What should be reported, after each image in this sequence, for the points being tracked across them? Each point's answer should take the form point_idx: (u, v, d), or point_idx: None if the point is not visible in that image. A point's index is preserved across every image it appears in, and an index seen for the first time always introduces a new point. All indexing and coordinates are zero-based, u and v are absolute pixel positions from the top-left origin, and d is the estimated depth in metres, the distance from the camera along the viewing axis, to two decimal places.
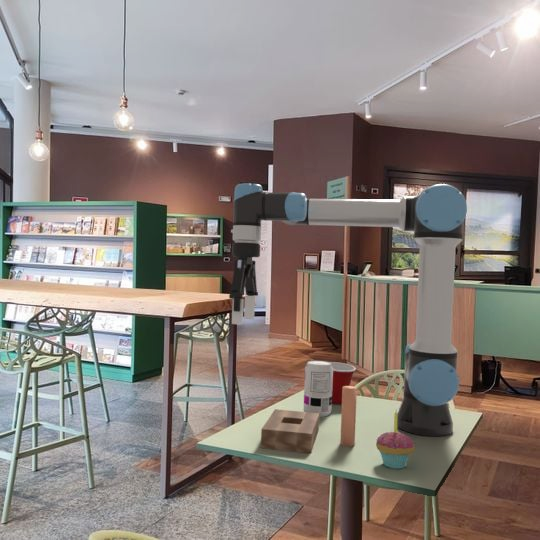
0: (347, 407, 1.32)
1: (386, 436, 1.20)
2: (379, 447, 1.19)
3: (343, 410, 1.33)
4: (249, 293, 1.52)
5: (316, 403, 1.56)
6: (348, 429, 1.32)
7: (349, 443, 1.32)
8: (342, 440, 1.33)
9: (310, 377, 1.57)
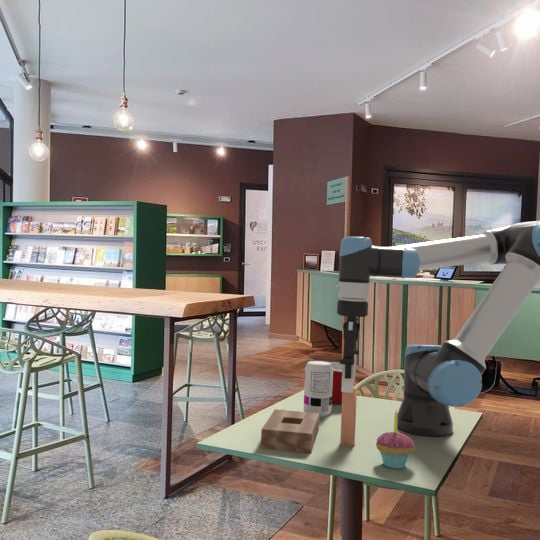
0: (347, 407, 1.32)
1: (386, 436, 1.20)
2: (379, 447, 1.19)
3: (343, 410, 1.33)
4: None
5: (316, 403, 1.56)
6: (348, 429, 1.32)
7: (349, 443, 1.32)
8: (342, 440, 1.33)
9: (310, 377, 1.57)
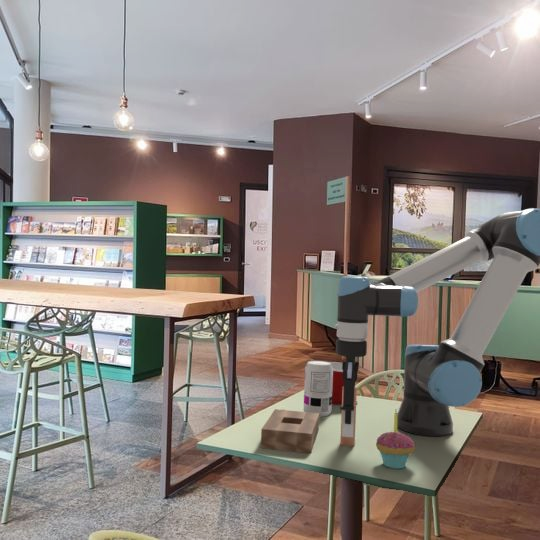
0: None
1: (386, 436, 1.20)
2: (379, 447, 1.19)
3: None
4: None
5: (316, 403, 1.56)
6: None
7: (349, 443, 1.32)
8: (342, 440, 1.33)
9: (310, 377, 1.57)
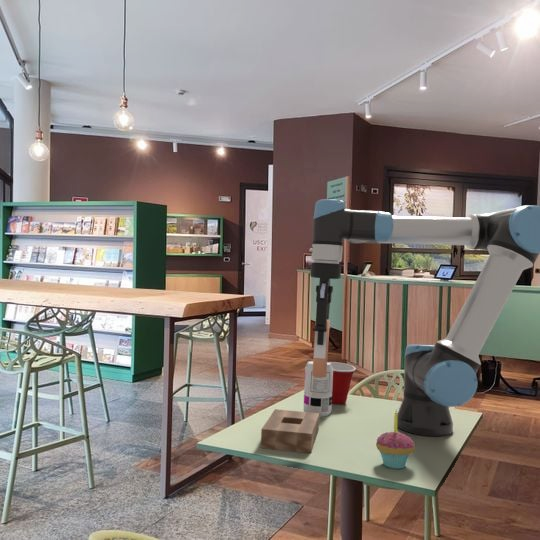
0: None
1: (386, 436, 1.20)
2: (379, 447, 1.19)
3: None
4: None
5: (316, 403, 1.56)
6: (320, 360, 1.33)
7: (321, 373, 1.33)
8: (314, 371, 1.34)
9: (310, 377, 1.57)
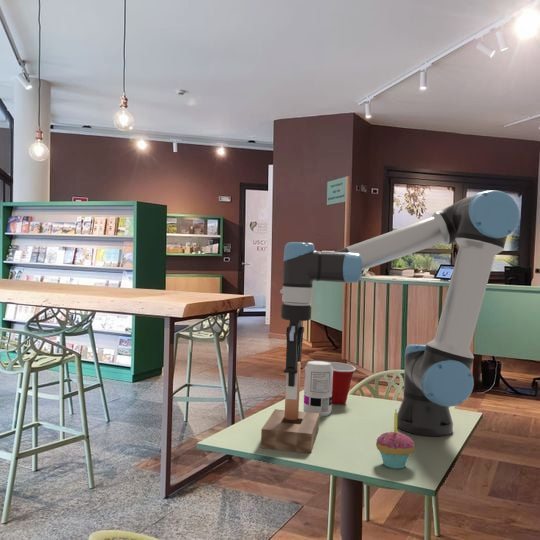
0: None
1: (386, 436, 1.20)
2: (379, 447, 1.19)
3: None
4: None
5: (316, 403, 1.56)
6: (291, 403, 1.34)
7: (292, 416, 1.34)
8: (285, 413, 1.35)
9: (310, 377, 1.57)
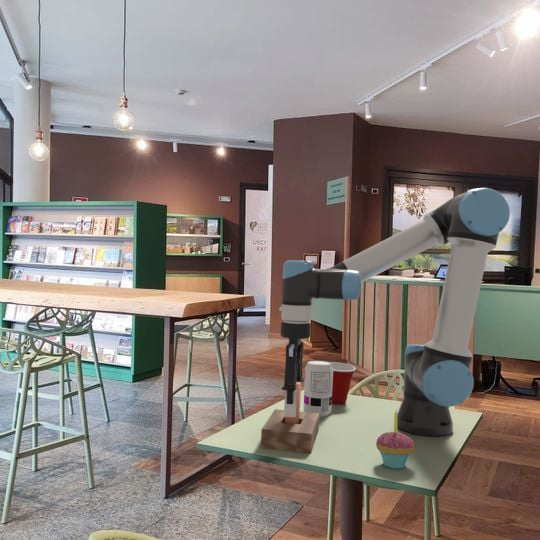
0: None
1: (386, 436, 1.20)
2: (379, 447, 1.19)
3: None
4: (295, 379, 1.41)
5: (316, 403, 1.56)
6: None
7: None
8: None
9: (310, 377, 1.57)
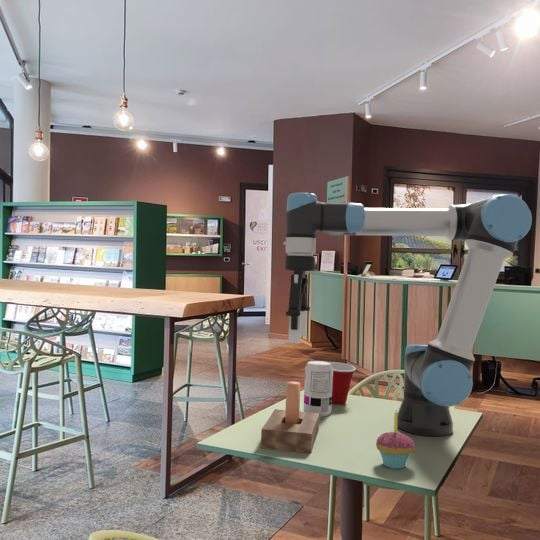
0: (290, 402, 1.35)
1: (386, 436, 1.20)
2: (379, 447, 1.19)
3: (287, 405, 1.35)
4: (301, 308, 1.43)
5: (316, 403, 1.56)
6: None
7: None
8: None
9: (310, 377, 1.57)
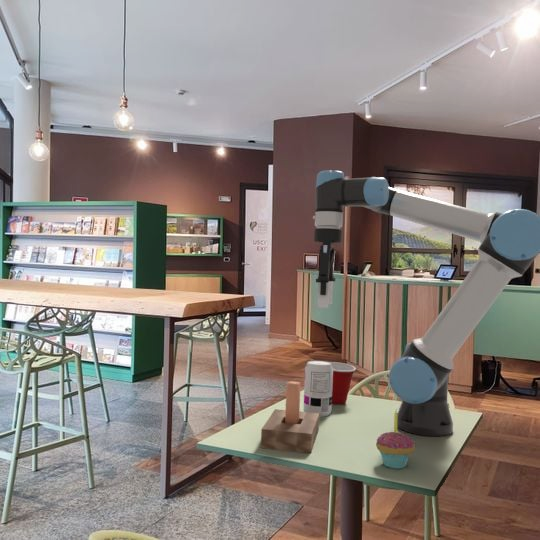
0: (290, 402, 1.35)
1: (386, 436, 1.20)
2: (379, 447, 1.19)
3: (287, 405, 1.35)
4: None
5: (316, 403, 1.56)
6: None
7: None
8: None
9: (310, 377, 1.57)
